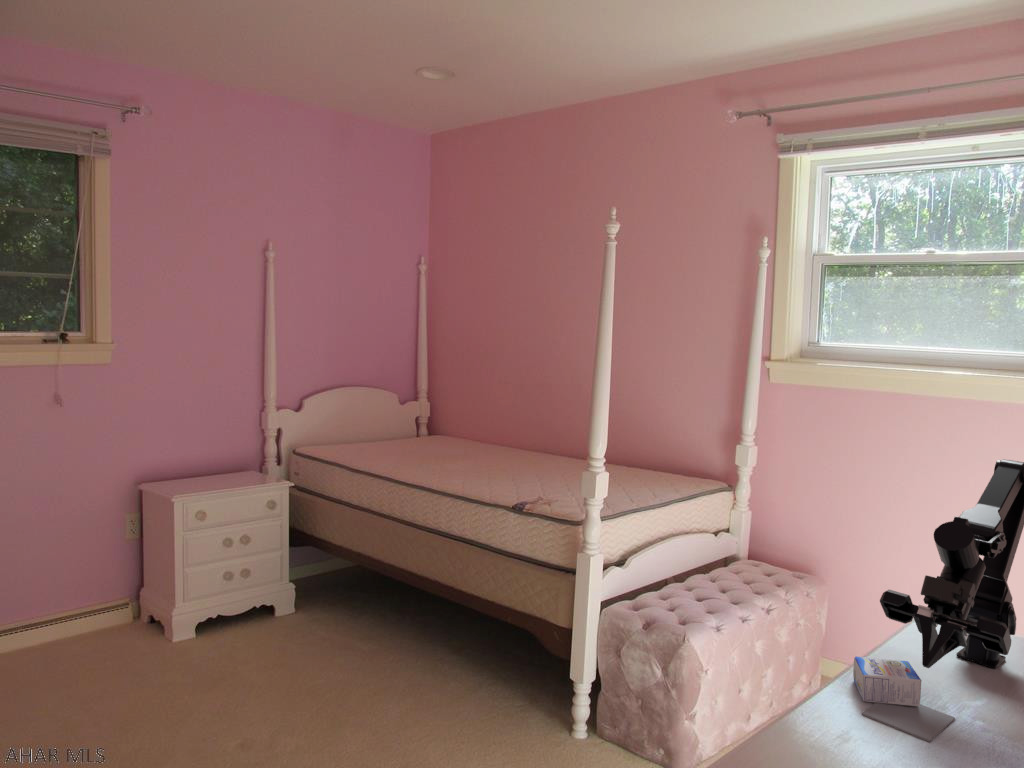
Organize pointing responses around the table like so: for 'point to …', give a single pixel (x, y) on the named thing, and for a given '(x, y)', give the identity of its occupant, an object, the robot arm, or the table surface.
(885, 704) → the mat
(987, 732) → the table surface
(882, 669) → the medicine box
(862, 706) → the table surface
